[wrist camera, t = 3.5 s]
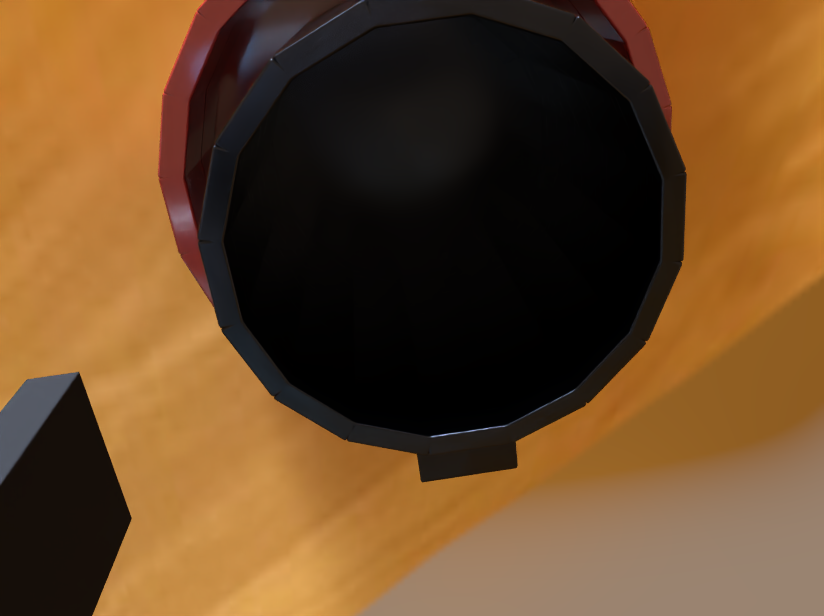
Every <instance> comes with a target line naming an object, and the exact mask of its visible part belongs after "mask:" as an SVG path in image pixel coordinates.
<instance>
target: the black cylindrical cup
mask: <svg viewBox="0 0 824 616" xmlns="http://www.w3.org/2000/svg"><path fill="white" fill-rule="evenodd" d="M685 170H686V168H685V165H684V163H683V160H682V158H681V155H680V153H679V150H678V148H677V145H676V143H675V140H674V138H673V135H672V133H671V130H670V128H669V125H668V123H667V120H666V118H665V115H664V113H663V110H662V108H661V105H660V103H659V100H658V98H657V96H656V93H655V91H654V88H653V86H652V85H651V84H650V81H649V80H648V79H647V78H646V77H645V76H644V75H643V74H642V73H641V72H640V71H638V70H637V69H636V68H635V67H634V66H633V65H632V64H631V63H630V62H629V61H628V60H627V59H625V58H624V57H623V56H622V55H621V54H620V53H619V52H618V51H617V50H616V49H615V48H614V47H613V46H611V45H610V44H609V43H608V42H607V41H606V40H605V39H604V38H603V37H602V36H601V35H600V34H598V33H597V32H596V31H595V30H594V29H593V28H592V27H591V26H590V25H589V24H588V23H587V22H586V21H584V20H583V19H582V18H581V17H580V16H576V15H575V14H574V13H572V12H569V11H566V10H562V9H559V8H556V7H553V6H549V5H546V4H543V3H540V2H537V1H533V0H343V1H342V2H340V3H338V4H337V5H335V6H334V7H332V8H331V9H329V10H327V11H326V12H324V13H323V14H321V15H319V16H318V17H316V18H315V19H313V20H311V21H310V22H308V23H307V24H305V25H304V26H303V27H302V28H301V29H300V30H299V31H298V32H297V33H296V34H295V35H294V36H293V37H292V38H291V39H290V40H289V41H288V42H287V43H286V44H285V45H284V46H283V47H282V48H280V49H279V50H278V51H277V52H276V53H275V54H274V55H273V56H272V57H271V58H270V59H269V61H268V62H267V63H266V65H265V66H264V68H263V69H262V71H261V72H260V74H259V75H258V77H257V78H256V80H255V81H254V83H253V84H252V86H251V87H250V89H249V90H248V92H247V93H246V95H245V96H244V98H243V99H242V101H241V102H240V104H239V105H238V107H237V108H236V110H235V111H234V113H233V114H232V116H231V117H230V119H229V120H228V122H227V123H226V125H225V126H224V128H223V129H222V131H221V132H220V134H219V135H218V137H217V138H216V140H215V144H214V146H213V147H212V152H211V158H210V164H209V170H208V176H207V182H206V187H205V193H204V199H203V205H202V211H201V217H200V223H199V229H198V235H197V238H198V240H199V241H198V247H199V251H200V255H201V259H202V263H203V267H204V270H205V274H206V278H207V282H208V286H209V290H210V293H211V297H212V301H213V305H214V309H215V313H216V316H217V320H218V324H219V326H220V328H222V329H221V330H222V332H223V334H224V335H225V336H226V338H227V339H228V340H229V341H230V343H231V344H232V345H233V347H234V348H235V349H236V350H237V352H238V353H239V354H240V356H241V357H242V358H243V359H244V361H245V362H246V363H247V365H248V366H249V367H250V368H251V370H252V371H253V372H254V374H255V375H256V376H257V377H258V379H259V380H260V381H261V383H262V384H263V385H264V386H265V388H266V389H267V390H268V392H269V393H270V394H271V395H272V396H274V399H275V400H277V401H279V402H280V403H282V404H284V405H285V406H287V407H289V408H291V409H292V410H294V411H296V412H297V413H299V414H301V415H302V416H304V417H306V418H308V419H309V420H311V421H313V422H314V423H316V424H318V425H319V426H321V427H323V428H325V429H326V430H328V431H330V432H331V433H333V434H335V435H337V436H338V437H340V438H342V439H343V440H346V439H347V441H349V442H355V443H360V444H366V445H371V446H377V447H382V448H387V449H393V450H398V451H404V452H409V453H415V454H417V458H418V465H419V471H420V478H421V481H422V482H428V481H434V480H441V479H448V478H454V477H461V476H467V475H474V474H481V473H487V472H494V471H500V470H507V469H513V468H517V466H518V465H517V451H516V441H517V440H519V439H521V438H523V437H525V436H527V435H529V434H531V433H533V432H535V431H537V430H539V429H541V428H543V427H545V426H547V425H549V424H551V423H553V422H555V421H557V420H558V419H560V418H562V417H564V416H566V415H568V414H570V413H572V412H574V411H576V410H578V409H580V408H582V407H584V406H585V405H586V403H589V402H590V401H591V400H592V399H593V398H594V397H595V396H596V395H597V394H598V393H599V392H600V391H601V390H602V389H603V388H604V387H605V386H606V385H607V384H608V383H609V382H610V381H611V379H612V378H613V377H614V376H615V375H616V374H617V373H618V372H619V371H620V370H621V369H622V368H623V367H624V366H625V365H626V364H627V363H628V362H629V361H630V360H631V359H632V358H633V357H634V356H635V355H636V354H637V353H638V352H639V351H640V350H641V349H642V347H643V346H644V345H645V344H646V342H645V341H648V340H649V338H650V335H651V333H652V331H653V329H654V326H655V324H656V322H657V320H658V317H659V315H660V313H661V311H662V308H663V306H664V304H665V302H666V299H667V297H668V295H669V293H670V290H671V288H672V286H673V284H674V281H675V279H676V277H677V275H678V272H679V270H680V268H681V266H682V262H681V261H683V258H684V231H685V203H686V176H687V174H686V172H685Z"/></svg>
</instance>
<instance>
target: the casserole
mask: <svg viewBox="0 0 824 616" xmlns="http://www.w3.org/2000/svg"><path fill="white" fill-rule="evenodd" d="M342 1H343V0H205V1H204V2H203V3H202V5H201V6H200V7H199V8H198V9H197V12H196V13H195V15H194V18H193V20H192V23H191V25H190V27H189V30H188V32H187V35H186V37H185V40H184V42H183V45H182V47H181V49H180V52H179V54H178V57H177V59H176V62H175V64H174V67H173V69H172V71H171V74H170V76H169V79H168V81H167V84H166V86H165V89H164V93H163V95H162V113H161V131H160V149H159V167H158V177H159V182H160V186H161V190H162V193H163V197H164V200H165V204H166V208H167V211H168V215H169V219H170V222H171V226H172V230H173V233H174V237H175V241H176V244H177V248H178V252H179V253H180V254H181V258H182V259H183V261H184V262H185V264H186V265H187V267H188V268H189V270H190V271H191V273H192V274H193V276H194V278H195V279H196V281H197V282H198V284H199V285H200V287H201V288H202V290H203V291H204V293H205V294H206V296H207V297H208V299H209V301H210V302H211V304H212V305H213V301H212V297H211V293H210V290H209V286H208V282H207V278H206V274H205V270H204V267H203V263H202V259H201V255H200V251H199V247H198V241H199V240H198V238H197V235H198V229H199V223H200V217H201V211H202V205H203V199H204V193H205V187H206V182H207V176H208V170H209V164H210V158H211V152H212V147H213V146H214V144H215V140H216V138H217V137H218V135H219V134H220V132H221V131H222V129H223V128H224V126H225V125H226V123H227V122H228V120H229V119H230V117H231V116H232V114H233V113H234V111H235V110H236V108H237V107H238V105H239V104H240V102H241V101H242V99H243V98H244V96H245V95H246V93H247V92H248V90H249V89H250V87H251V86H252V84H253V83H254V81H255V80H256V78H257V77H258V75H259V74H260V72H261V71H262V69H263V68H264V66H265V65H266V63H267V62H268V61H269V59H270V58H271V57H272V56H273V55H274V54H275V53H276V52H277V51H278V50H279V49H280V48H282V47H283V46H284V45H285V44H286V43H287V42H288V41H289V40H290V39H291V38H292V37H293V36H294V35H295V34H296V33H297V32H298V31H299V30H300V29H301V28H302V27H303V26H304V25H305V24H307V23H308V22H310V21H311V20H313V19H315V18H316V17H318V16H319V15H321V14H323V13H324V12H326V11H327V10H329V9H331V8H332V7H334V6H335V5H337V4H338V3H340V2H342ZM533 1H537V2H540V3H543V4H546V5H549V6H553V7H556V8H559V9H562V10H566V11H569V12H572V13H574V14H575V15H576V16H580V17H581V18H582V19H583V20H584V21H586V22H587V23H588V24H589V25H590V26H591V27H592V28H593V29H594V30H595V31H596V32H597V33H598V34H600V35H601V36H602V37H603V38H604V39H605V40H606V41H607V42H608V43H609V44H610V45H611V46H613V47H614V48H615V49H616V50H617V51H618V52H619V53H620V54H621V55H622V56H623V57H624V58H625V59H627V60H628V61H629V62H630V63H631V64H632V65H633V66H634V67H635V68H636V69H637V70H638V71H640V72H641V73H642V74H643V75H644V76H645V77H646V78H647V79H648V80H649V81H650V84H651V85H652V86H653V88H654V91H655V93H656V96H657V98H658V100H659V103H660V105H661V108H662V110H663V113H664V115H665V118H666V120H667V123H668V125H669V128H670V130H671V119H672V106H671V100H670V97H669V94H668V90H667V87H666V84H665V80H664V77H663V74H662V70H661V67H660V64H659V60H658V57H657V54H656V50H655V47H654V44H653V40H652V37H651V34H650V30H649V28H648V27H647V24H646V22H645V21H644V20H643V18H642V17H641V15H640V14H639V13H638V11H637V10H636V9H635V7H634V6H633V4H632V3H631V2H630V0H533ZM213 307H214V305H213Z"/></svg>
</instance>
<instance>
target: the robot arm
mask: <svg viewBox="0 0 824 616" xmlns="http://www.w3.org/2000/svg"><path fill="white" fill-rule="evenodd" d="M131 519H132V518H131V515H130V512H129V509H128V507H127V504H126V501H125V498H124V496H123V493H122V490H121V487H120V484H119V482H118V479H117V476H116V473H115V471H114V468H113V465H112V462H111V459H110V457H109V454H108V451H107V448H106V446H105V443H104V440H103V437H102V435H101V432H100V429H99V426H98V423H97V421H96V418H95V415H94V412H93V410H92V407H91V404H90V401H89V398H88V396H87V393H86V390H85V387H84V385H83V382H82V379H81V376H80V373H79V372H76V373H69V374H62V375H55V376H48V377H41V378H34V379H27V380H26V381H25V382H24V384H23V385H22V386H21V387H20V389H19V390H18V391H17V392H16V393H15V395H14V396H13V397H12V398H11V400H10V401H9V402H8V403H7V405H6V406H5V407H4V408H3V409H2V411H1V412H0V616H92V615H93V612H94V610H95V607H96V605H97V603H98V600H99V598H100V595H101V593H102V590H103V588H104V585H105V583H106V580H107V578H108V576H109V573H110V571H111V568H112V566H113V563H114V561H115V558H116V556H117V553H118V551H119V549H120V546H121V544H122V541H123V539H124V536H125V534H126V531H127V529H128V526H129V524H130V522H131Z"/></svg>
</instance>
